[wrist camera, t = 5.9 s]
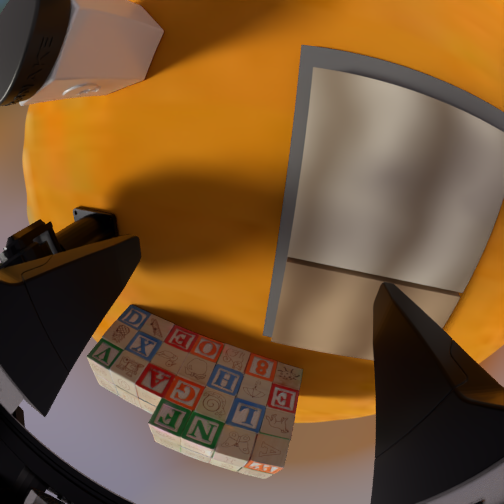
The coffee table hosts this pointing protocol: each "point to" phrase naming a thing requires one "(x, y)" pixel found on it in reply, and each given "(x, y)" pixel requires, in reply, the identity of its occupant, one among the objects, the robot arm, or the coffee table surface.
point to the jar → (73, 48)
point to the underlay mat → (308, 60)
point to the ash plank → (395, 183)
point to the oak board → (342, 307)
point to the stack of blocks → (201, 392)
